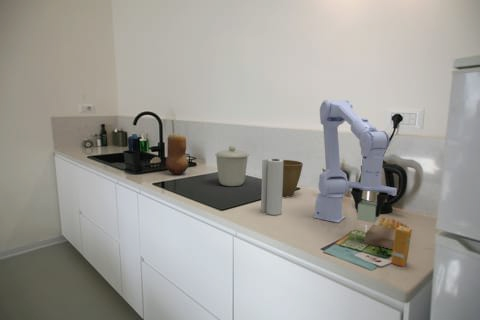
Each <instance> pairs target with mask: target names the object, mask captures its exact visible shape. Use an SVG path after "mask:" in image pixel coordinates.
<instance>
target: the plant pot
mask: <svg viewBox="0 0 480 320" xmlns="http://www.w3.org/2000/svg"><path fill="white" fill-rule="evenodd" d="M282 160H283V187H282V197H283V196H290V197H293V196H294V193H295V191H296V189H297V186H298V184H299V181H300V178H301V175H302V170H303V166H304V165H303V164H304V163H303V162H302V161H298V160H292V159H282ZM292 195H293V196H292Z"/></svg>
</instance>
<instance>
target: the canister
mask: <svg viewBox="0 0 480 320" xmlns="http://www.w3.org/2000/svg"><path fill="white" fill-rule="evenodd" d="M214 155H215V157H216V167H217V175H218V181H219V183H220V185H222V186H226V187H238V186H242V185H243V184H244V183H245V180H246V173H247V166H248V158H249V156H250V154H249V153H248V152H246V151H243V150H236V147H235V146H234V145H229V147H228V149H227V150H226V149H225V150H220V151H218V152H216V153H215V154H214Z"/></svg>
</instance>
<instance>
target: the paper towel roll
mask: <svg viewBox="0 0 480 320" xmlns="http://www.w3.org/2000/svg"><path fill="white" fill-rule="evenodd" d="M283 160H284V159H279V158H276V159H275V158H270V159H262V161H261V163H262V164H261V166H262V167H261V195H260V196H261V197H260V199H261V200H260V201H261V202H260V204H261V205H260V212H261V213H263V212H266V214H267V215H271V216H279V215H282V210H283V196H282V187H283Z"/></svg>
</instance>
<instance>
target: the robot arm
mask: <svg viewBox="0 0 480 320" xmlns="http://www.w3.org/2000/svg"><path fill="white" fill-rule="evenodd" d="M319 118H320V119H319V120H320V121H319V122H320V124H321V125H323V127H322V128H323V142H324V144H323V145H324V159H325V170H324V171H323V172H322V173H320V174H319V177H318V179H319V180H318V191H319V193H318V194H317V196H316V198H315V209H314V216H313V218H315V219H319V220H323V221H329V222H333V223H337V224H339V223H340V222H341V221H342V220H344V219H345V218H346V215H343V202H344V197H345V196H346V194H347V193H348V192H349V190H350V189H351V191H350V194H351V196H352V199H353V200H354V205H355V208H356V209H355V210H356V213H358V204H359V203H360V202H361V201H362V198H363V193H364V191H365V192H371V193H377V194H376V203H377V209H376V217H378V218H379V217H380V216H381V212H382V208H383V206H384V205H385V203H386V200H387V199H388V197H389V195H391V196H393V197H395V196H397V192H398V191H397V190H398V188H397V187H391V186H388V185H387V186H386V185H383V184H382V173H383V165H384V164H383V163H384V162H383V161H384V155H385V154H384V151H385V150H387V149H388V148H389V145H390V136H389V135H388V133H387V132H386V131H385V130H379V129H377V128H376V126H374V125H373V124H371V123H370V122H369V119H368V118H366V117H359V115H358V114H357V113H356V111H355V110H354V109H353V103H351V101H349V100H328V99H325V100H323V101H322V102H321V105H320V107H319ZM344 122H346V123H347V124H348V125H350V131H351V132H352V134H354V137H356V138H357V139H358V141H359V146H360V154H361V156H362V157H361V158H362V160H361V173H360V182H359V181H349V180H348V176H347V173H346V172H344V171H343V170H342V169H341V162H340V161H341V160H340V159H341V158H340V147H339V146H340V145H339V133H338V132H339V131H338V128H339V126H340V125H343V124H344Z"/></svg>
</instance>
